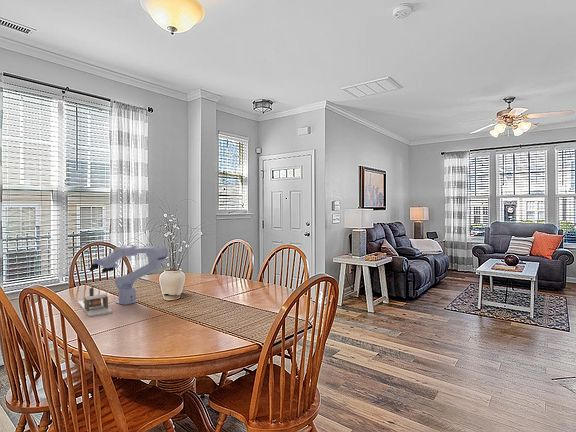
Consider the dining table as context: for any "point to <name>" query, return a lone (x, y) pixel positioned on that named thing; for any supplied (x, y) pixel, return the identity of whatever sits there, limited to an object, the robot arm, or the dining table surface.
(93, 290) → the sled
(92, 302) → the block
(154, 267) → the robot arm
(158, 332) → the dining table surface
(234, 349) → the dining table surface
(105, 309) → the tunnel deck
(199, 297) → the dining table surface
